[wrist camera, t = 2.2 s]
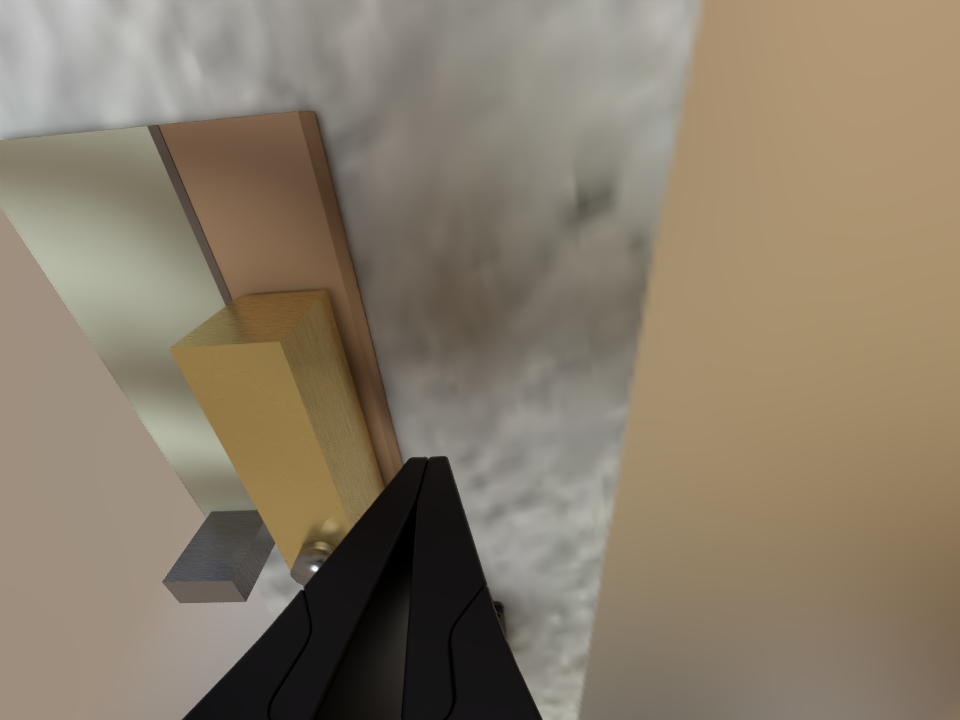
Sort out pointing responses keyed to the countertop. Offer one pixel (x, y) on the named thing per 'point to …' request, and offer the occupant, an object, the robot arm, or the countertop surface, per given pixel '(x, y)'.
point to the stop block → (222, 559)
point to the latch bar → (286, 418)
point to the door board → (189, 259)
